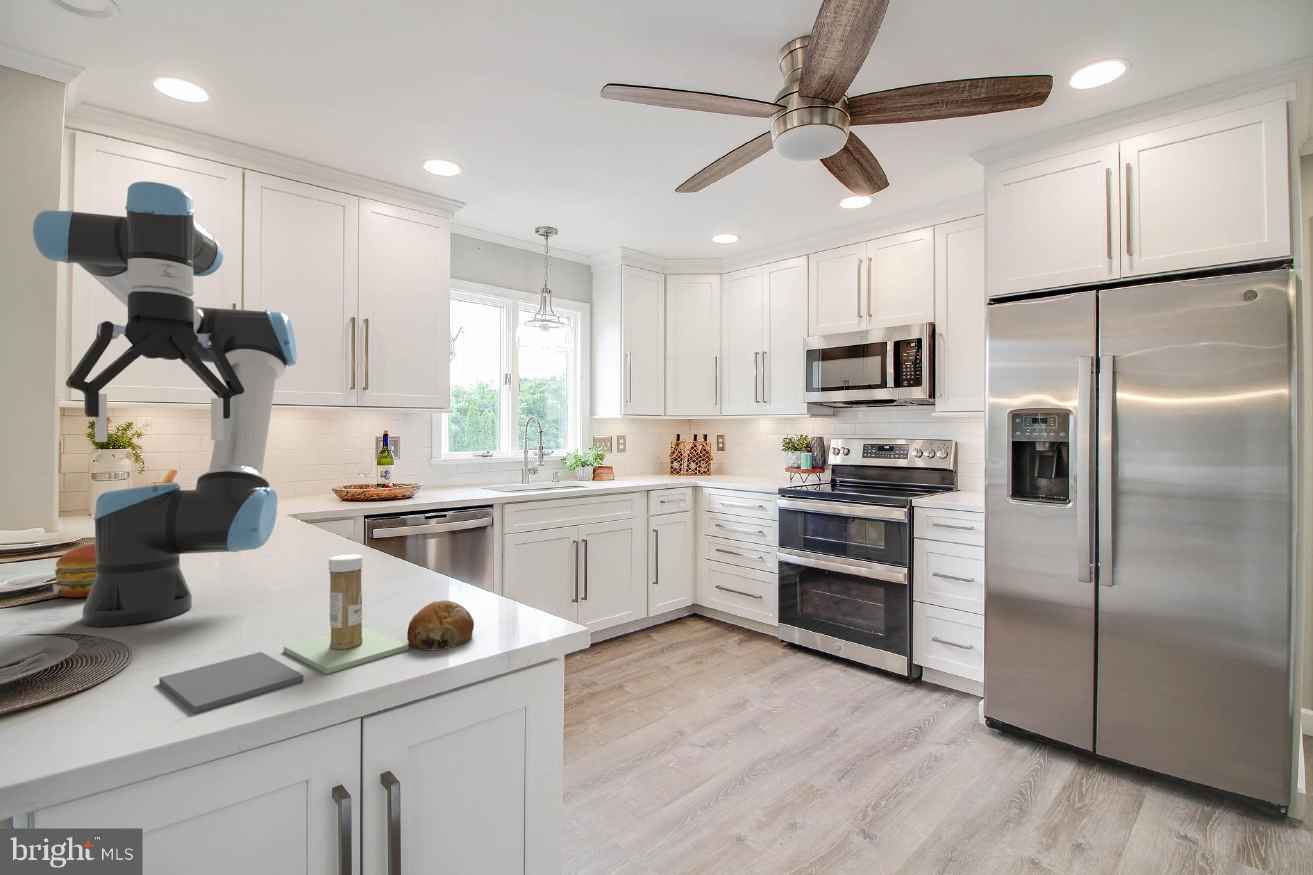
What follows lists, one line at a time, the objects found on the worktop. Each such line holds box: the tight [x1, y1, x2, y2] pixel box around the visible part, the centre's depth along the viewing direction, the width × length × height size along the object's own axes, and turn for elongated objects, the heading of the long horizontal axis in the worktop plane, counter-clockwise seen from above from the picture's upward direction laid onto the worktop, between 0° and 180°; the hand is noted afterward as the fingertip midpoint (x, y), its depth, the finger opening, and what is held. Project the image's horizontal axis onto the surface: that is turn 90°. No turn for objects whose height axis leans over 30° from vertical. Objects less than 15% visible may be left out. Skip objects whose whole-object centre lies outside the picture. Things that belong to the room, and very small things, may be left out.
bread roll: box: [406, 599, 475, 651], centre depth 99 cm, size 10×10×8 cm
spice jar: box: [328, 553, 364, 649], centre depth 94 cm, size 5×5×14 cm
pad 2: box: [283, 626, 410, 675], centre depth 94 cm, size 14×12×1 cm
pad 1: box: [158, 651, 305, 714], centre depth 82 cm, size 14×12×1 cm
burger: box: [52, 543, 96, 598], centre depth 127 cm, size 13×14×10 cm
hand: (162, 441), depth 90 cm, fingers open, 13 cm apart
